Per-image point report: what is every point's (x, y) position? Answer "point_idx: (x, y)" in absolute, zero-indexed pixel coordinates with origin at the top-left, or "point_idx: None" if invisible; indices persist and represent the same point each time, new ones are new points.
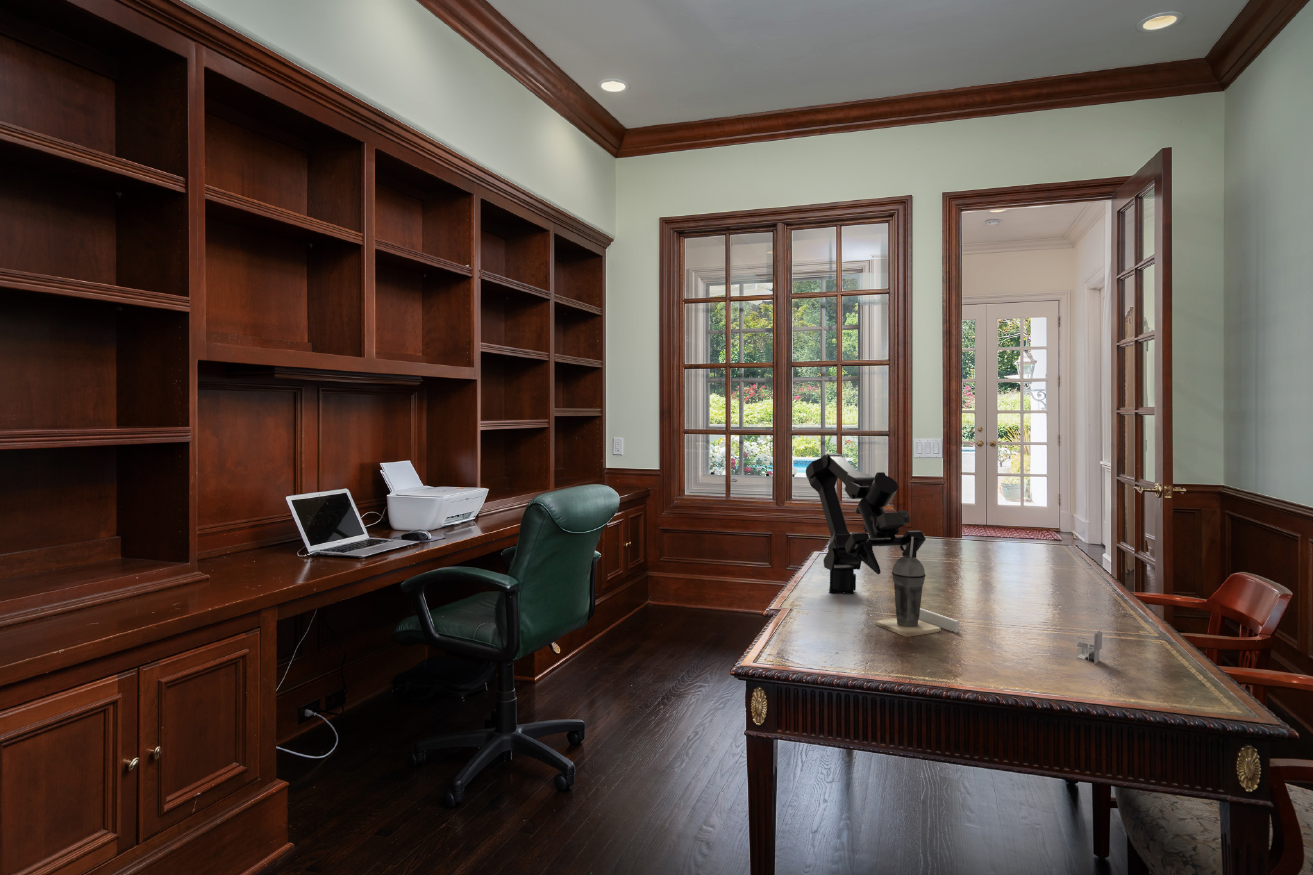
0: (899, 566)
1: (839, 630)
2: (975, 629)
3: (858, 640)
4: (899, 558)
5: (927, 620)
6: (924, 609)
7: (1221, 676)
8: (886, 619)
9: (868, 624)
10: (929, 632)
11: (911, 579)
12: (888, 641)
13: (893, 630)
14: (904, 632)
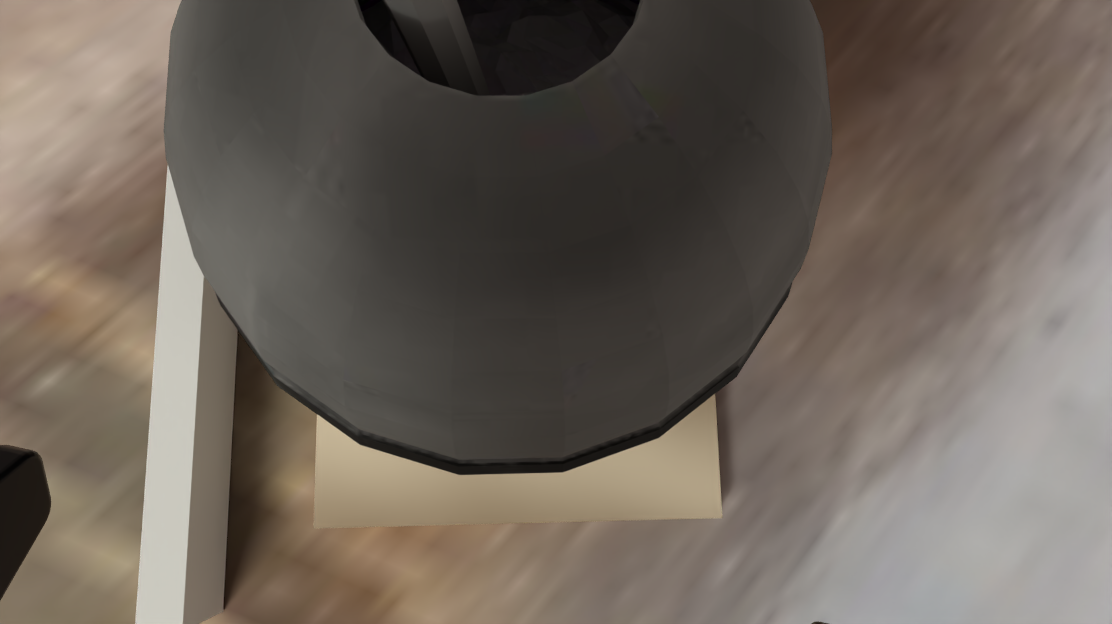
0: (820, 50)
1: (1102, 499)
2: (24, 78)
3: (1091, 234)
4: (653, 218)
5: (229, 373)
6: (153, 447)
7: None
8: (590, 516)
9: (766, 542)
10: None
11: None
12: (890, 129)
13: None
14: None
